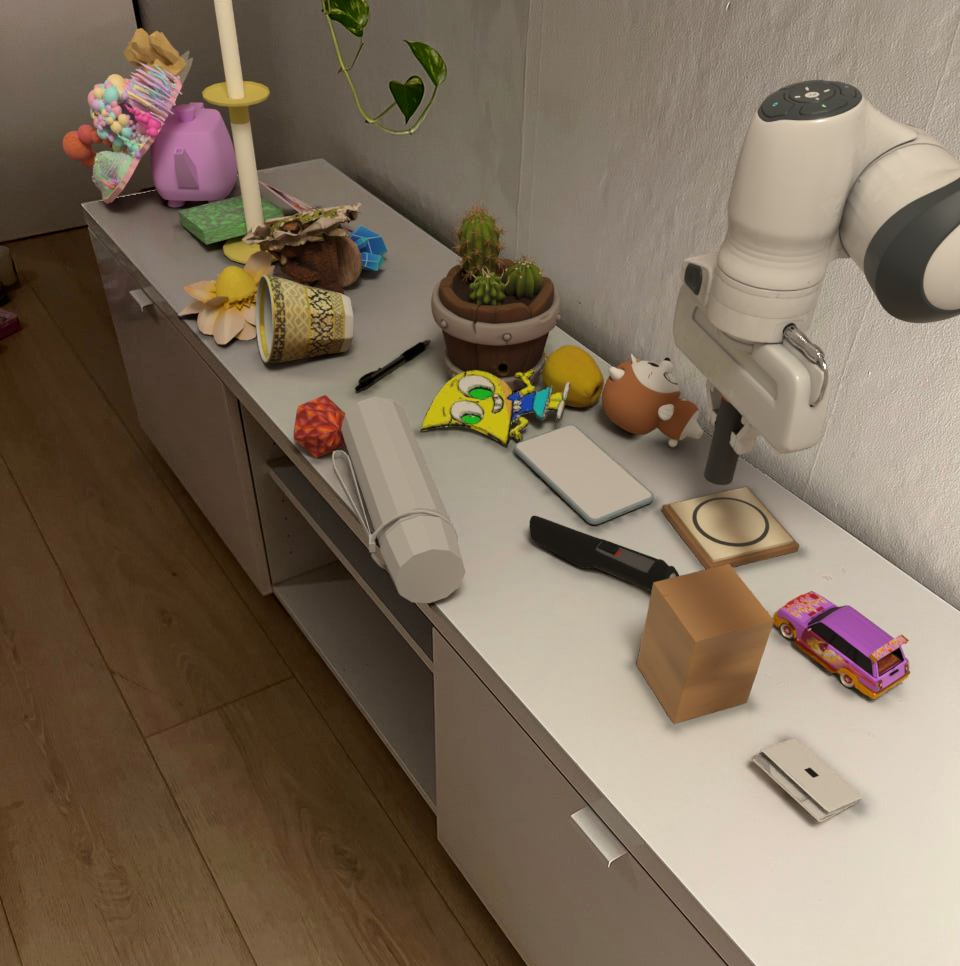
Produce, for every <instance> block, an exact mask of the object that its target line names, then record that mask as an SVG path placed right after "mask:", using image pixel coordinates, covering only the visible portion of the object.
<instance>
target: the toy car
mask: <svg viewBox="0 0 960 966" xmlns="http://www.w3.org/2000/svg"><path fill="white" fill-rule="evenodd" d="M772 616H773V617H772V618H773V619H774V623H773V625H775V626H776V627H778V628H779V630H780V633H781V635H782V636H783V637H784V638H785V639H788V640H792V639H793V641H792V642H793V644H794V645H795V646H796V647H798V648H799V649H800V650H802V651H803V652H804V653H805V654H807V655H808V656H810V658H811V659H813V660H814V661H816V662H817V663H818V664H819V665H821V666H823V667H824V668H825V670H827V671H829V672H830V673H832V674H833V673H836V674H839V680H840V682H841V684H842V685H843V686H844V687H846V688H848V689H853V688H855V689H857V690H858V691H859V692H861V693H862V694H863V695H865V696H867V697H869V698H870V699H873V700H875V699H877V698H879V697H881V696H882V695H884V694H885V693H887V692H888V691H890V690H891V689H893V688H894V687H896V686H898V685H899V684H901V683H902V682H903V681H905V680H906V679H908V677H910V674H911V671H910V669H911V667H910V660H909V659H908V658H907V657H906V655H905V652H904V650H903V647H902V646H903V645H906V644H907V643H908V642H909V641H910V640H909V639H908V638H907V637H906V636H905V635H903V634H901V635H900V634H899V635H897V636H896V637H893V636H892V635H891V634H889V633H888V632H886V631H885V630H884V629H882V628H881V627H880V626H878V625H877V624H876V623H874V622H873V621H872V620H870V619H869V618H868V617H866V616H865V615H863V613H861V612H859V611H858V610H857V609H855V608H854V607H852V606H851V605H846V604H845V605H841V606H838V605H836V604H835V603H833V602H832V601H831V600H829V599H827V598H825V596H823V595H820V594H819V593H817V592H816V591H814V590H810V591H808V592H806V593H804V594H800V595H798V596H796V597H794V598H792V599H791V600H790V601H787V602H786V604H785V605H783V606H782V607H780V608H779V609H778V610H777V611H776V612H774V613H773V615H772Z"/></svg>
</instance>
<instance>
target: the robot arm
mask: <svg viewBox="0 0 960 966" xmlns="http://www.w3.org/2000/svg"><path fill="white" fill-rule="evenodd" d="M726 207H727V208H726V209H727V210H726V213H727V229H726V234H725V236H724V239H723V241H722V243H721V245H720V247H719V249H718V251H716V252H710V253H709V252H708V253H704V254H698V255H694V256H690V257H685V258H684V259H683V260H682V261H681V267H680V273H679V274H680V276H679V277H680V280H681V282H682V284H681V285H680V287H679V290H678V293H677V298H676V303H675V310H674V316H673V323H672V334H673V339H674V344H675V347H676V348H677V349H678V350H679V351H680V352H681V353H682V354H683V355H684V356H685V357H686V358H687V359H688V361H690V363H691V364H693V366H694V367H695V368H696V369H697V370H698V371H699V372H700V373H701V374H702V375H703V376H704V377H705V378H706V382H705V389H706V397H707V404H708V406H709V407H708V411H707V416H706V422H707V423H708V424H709V425H710V426H711V427H712V428H713V429H715V425H716V420H717V416H718V412H719V408H720V403H721V399H722V395H723V396H724V397H725V398H726V399H727V400H728V401H729V402H730V403H731V404H732V405H733V406H734V407H735V408H736V409H737V410H738V412H739V413H740V414H741V415H742V419H741V423H742V424H743V425H744V427H743V428H742V429H741V430H734V431H732V432H731V436H730V439H731V440H730V441H729V445H730V447H731V448H732V449H733V450H734V451H735V452H736V453H737V454H738V455H739V456H740V455H744V454H749V453H751V452H752V451H753V450H754V447H755V443H756V440H757V437H759V436H761V437H762V438H763V439H764V440H765V441H766V442H767V443H768V445H770V446H771V447H772V448H773V449H774V451H775V452H777V454H779V455H786V454H791V453H797V452H802V451H804V450H809V449H811V448H813V447H814V446H816V445H817V444H818V443H819V442H820V440H821V438H822V434H823V430H824V426H825V424H826V423H825V422H826V419H827V414H828V413H827V412H828V408H829V402H830V397H831V390H832V389H831V388H832V376H831V371H830V369H829V367H828V364H827V362H826V360H825V358H826V354H825V351H823V349H822V348H821V347H820V346H819V345H817V344H816V343H813V342H812V341H811V340H810V339H809V337H808V336H807V335H806V334H807V332H808V331H809V330H810V328H811V325H812V322H813V319H814V315H815V311H816V308H817V304H818V302H819V298H820V294H821V291H822V288H823V283H824V281H825V278H826V277H825V276H826V274H827V270H828V268H829V266H830V264H831V263H832V262H834V261H835V260H837V259H851V260H852V261H853V262H854V264H855V265H856V266H857V267H858V269H859V270H860V271H861V272H862V273H863V275H864V276H865V279H866V281H867V283H868V285H869V286H870V288H871V290H872V292H873V293H874V295H875V297H876V299H877V301H878V303H879V304H880V306H881V307H882V309H883V310H884V311H885V312H886V313H887V314H888V315H889V316H891V317H893V318H895V319H897V320H898V321H899V320H900V321H901V322H906V323H911V324H930V323H936V322H941V321H946V320H950V319H952V318H955V317H957V316H958V317H959V316H960V161H959V159H958V158H956V156H955V155H954V154H953V153H952V151H950V150H949V149H948V148H947V147H945V146H944V145H943V144H942V143H941V142H940V141H938V140H937V139H936V138H935V137H933V136H932V135H931V134H930V133H928V132H927V131H925V130H923V129H922V128H919V127H917V126H915V125H913V124H908V123H903V122H900V121H898V120H896V119H893V118H891V117H889V116H887V115H886V114H884V113H883V112H882V111H880V110H879V109H878V108H877V107H875V106H874V105H873V104H872V103H870V102H869V101H868V100H867V99H866V98H865V96H864V95H863V93H862V91H861V90H860V89H858V88H857V87H855V86H854V85H852V84H849V83H846V82H842V81H839V80H823V79H810V80H809V79H808V80H803V81H799V82H795V83H791V84H787V85H785V86H783V87H780V88H779V89H777V90H776V91H774V92H772V93H770V94H769V95H768V96H767V97H765V99H763V101H762V102H761V103H760V104H759V105H758V107H757V108H756V110H755V112H754V114H753V116H752V117H751V120H750V122H749V125H748V127H747V130H746V133H745V135H744V139H743V142H742V145H741V148H740V151H739V155H738V158H737V162H736V166H735V169H734V174H733V178H732V183H731V186H730V191H729V196H728V200H727V206H726Z"/></svg>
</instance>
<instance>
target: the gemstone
mask: <svg viewBox="0 0 960 966" xmlns="http://www.w3.org/2000/svg"><path fill="white" fill-rule="evenodd" d="M352 231H353V232H352V233H350V234H349V235H348V236H347V235H346V236H336V238H335V240H336V248H337V258H338V266H339V273H338V280H339V284H340V285H341V286H342V288H347V287H349V286H352V285H353V284H354V283H355V282H357V280H358V279H359V277H360V276H361V274H362V271H363V270H365V271H369V272H377V271H378V270H379V269H380V268H381V266H382V265H383V264H384V263H385V262H386V259H385V258H384V257H383V256H384V255H385V254H387V253H389V250H388V247H387V245H386V243H385V240H384V238H383V236H382V235H380V234H379V233H376V232H375V231H373V230H371V229H369V228H367V227H365V226H363V225H362V224H360V225H359V226H357V227H356V228H355V229H354V230H352Z"/></svg>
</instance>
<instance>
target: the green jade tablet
mask: <svg viewBox="0 0 960 966" xmlns="http://www.w3.org/2000/svg"><path fill="white" fill-rule="evenodd" d="M260 197H261V204H262V212H263V219H264V222H265V221H266V220H267V219H272V218H279V217H285V213H284V209H283V208H281V207H279V205H277V204H275V203H273V202H272V201H270V200H269V199H267V198H265V196H264V197H263V196H262V195H261V194H260ZM177 214H178V216H179V220H180V221H179V222H180V224H181V226H182V227H184V228H185V229H186V230H187V231H188V232H190V233H191V234H192V235H194V237H196V238H197V239H198V240H200V241H201V242H202V243H204V244H205V245H211V244H213V243H214V244H215V243H219V242H221V241H225V240H226V241H227V240H229V239H230V238H233V237H237V236H241V235H244V234H247V227H246V220H245V214H244V207H243V200H242V194H240V195H237V196H233V197H228V198H224V200H220V201H216V202H212V203H209V202H207V203H204V204H201V205H197V206H193V207H189V208H184V209H181V210H178V211H177Z"/></svg>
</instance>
